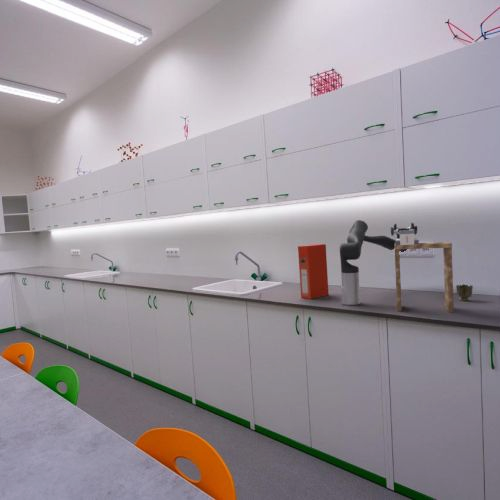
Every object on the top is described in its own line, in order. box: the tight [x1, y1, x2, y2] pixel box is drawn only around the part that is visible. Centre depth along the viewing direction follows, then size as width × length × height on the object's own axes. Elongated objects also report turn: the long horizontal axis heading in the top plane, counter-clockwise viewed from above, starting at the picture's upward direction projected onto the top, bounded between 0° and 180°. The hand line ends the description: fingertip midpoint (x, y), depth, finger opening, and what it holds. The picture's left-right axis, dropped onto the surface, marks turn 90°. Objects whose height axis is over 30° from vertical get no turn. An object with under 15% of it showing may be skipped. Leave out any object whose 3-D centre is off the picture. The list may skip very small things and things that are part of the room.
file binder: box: [297, 243, 330, 300], centre depth 222 cm, size 8×17×32 cm, turn 131°
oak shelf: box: [394, 241, 455, 314], centre depth 173 cm, size 24×13×32 cm, turn 68°
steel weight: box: [399, 230, 414, 237], centre depth 180 cm, size 6×20×4 cm, turn 158°
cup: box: [455, 284, 474, 302], centre depth 186 cm, size 8×7×8 cm
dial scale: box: [394, 233, 420, 245], centre depth 174 cm, size 10×13×5 cm
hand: (403, 224), depth 203 cm, fingers open, 8 cm apart
